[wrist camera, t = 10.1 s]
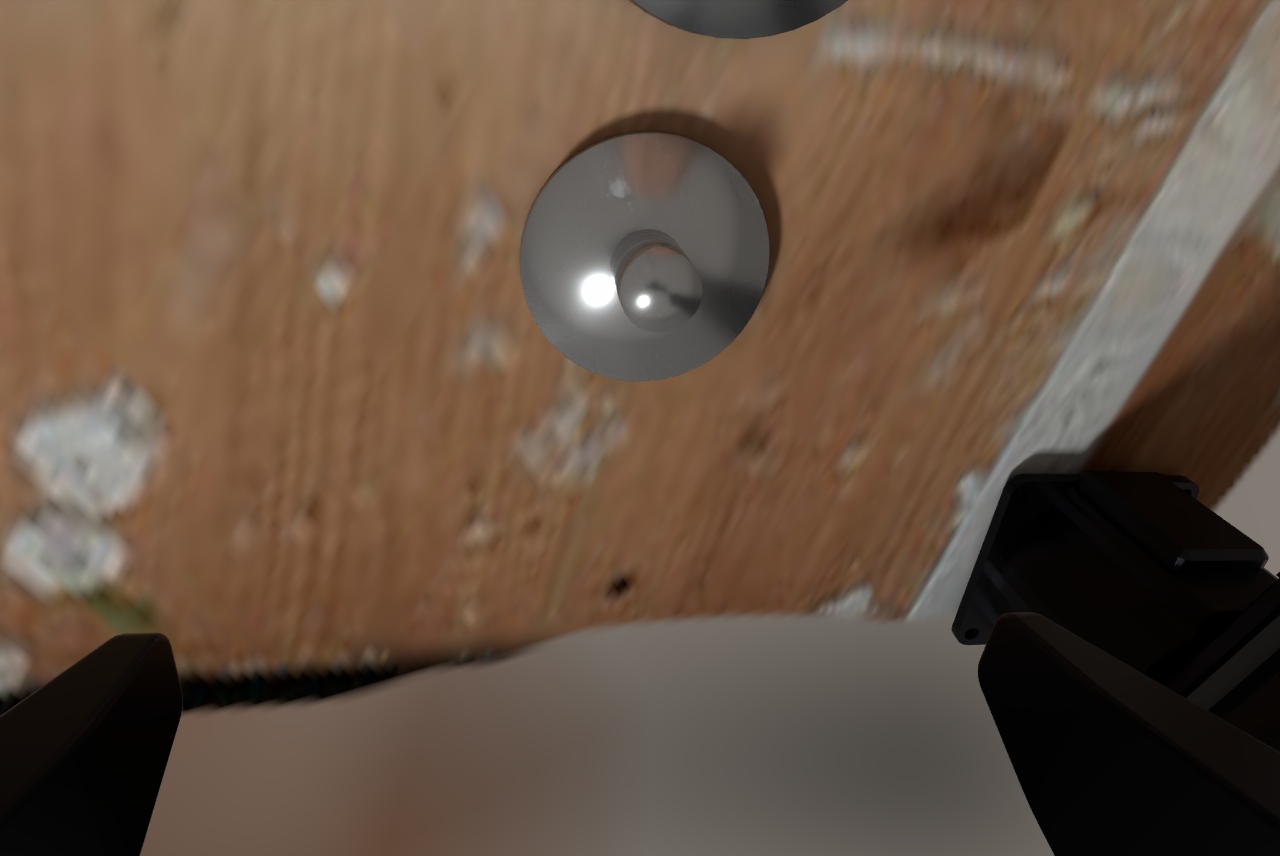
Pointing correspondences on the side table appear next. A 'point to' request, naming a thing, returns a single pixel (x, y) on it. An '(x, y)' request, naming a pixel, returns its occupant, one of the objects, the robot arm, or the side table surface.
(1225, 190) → the side table surface
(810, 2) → the hub
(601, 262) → the metal knobbed lid
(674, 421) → the side table surface
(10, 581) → the side table surface
